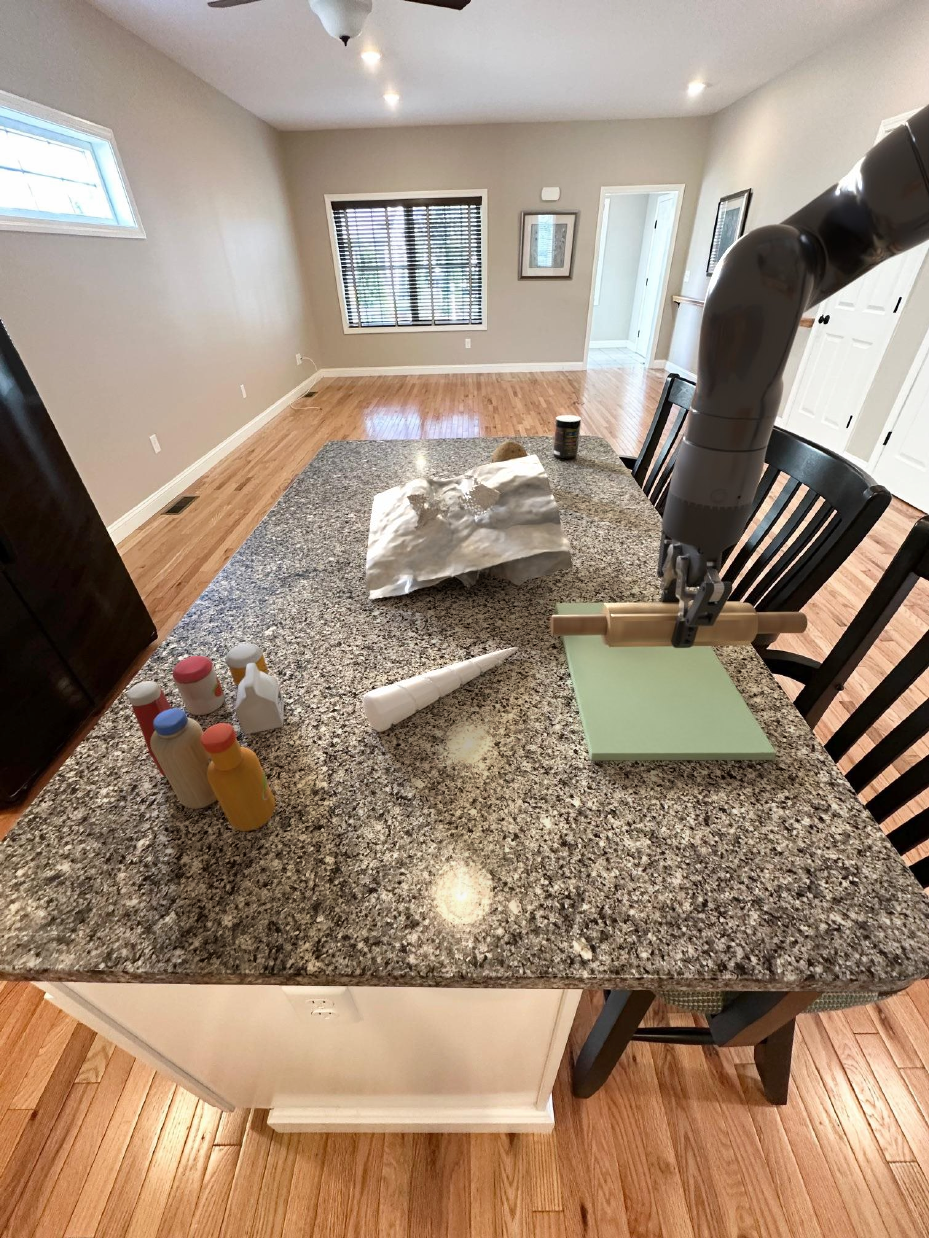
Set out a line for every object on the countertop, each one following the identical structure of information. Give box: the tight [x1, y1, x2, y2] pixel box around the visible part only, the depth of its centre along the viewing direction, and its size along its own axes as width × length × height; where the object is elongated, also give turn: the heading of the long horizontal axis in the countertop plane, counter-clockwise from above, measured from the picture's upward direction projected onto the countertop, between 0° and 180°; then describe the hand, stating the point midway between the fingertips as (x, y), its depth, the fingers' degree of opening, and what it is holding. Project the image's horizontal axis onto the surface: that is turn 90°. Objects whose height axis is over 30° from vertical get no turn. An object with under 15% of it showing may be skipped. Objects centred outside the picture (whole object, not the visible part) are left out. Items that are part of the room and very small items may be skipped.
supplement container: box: [552, 414, 582, 462], centre depth 140 cm, size 7×7×10 cm
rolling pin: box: [549, 601, 808, 647], centre depth 58 cm, size 28×5×5 cm, turn 89°
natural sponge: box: [490, 440, 528, 464], centre depth 125 cm, size 9×9×10 cm
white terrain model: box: [365, 454, 574, 600], centre depth 95 cm, size 35×16×32 cm
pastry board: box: [554, 601, 777, 761], centre depth 69 cm, size 30×20×1 cm, turn 179°
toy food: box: [126, 643, 285, 832], centre depth 57 cm, size 27×13×12 cm, turn 15°
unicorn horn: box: [362, 646, 520, 733], centre depth 65 cm, size 5×24×5 cm, turn 124°
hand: (673, 631), depth 59 cm, fingers closed on rolling pin, 4 cm apart
